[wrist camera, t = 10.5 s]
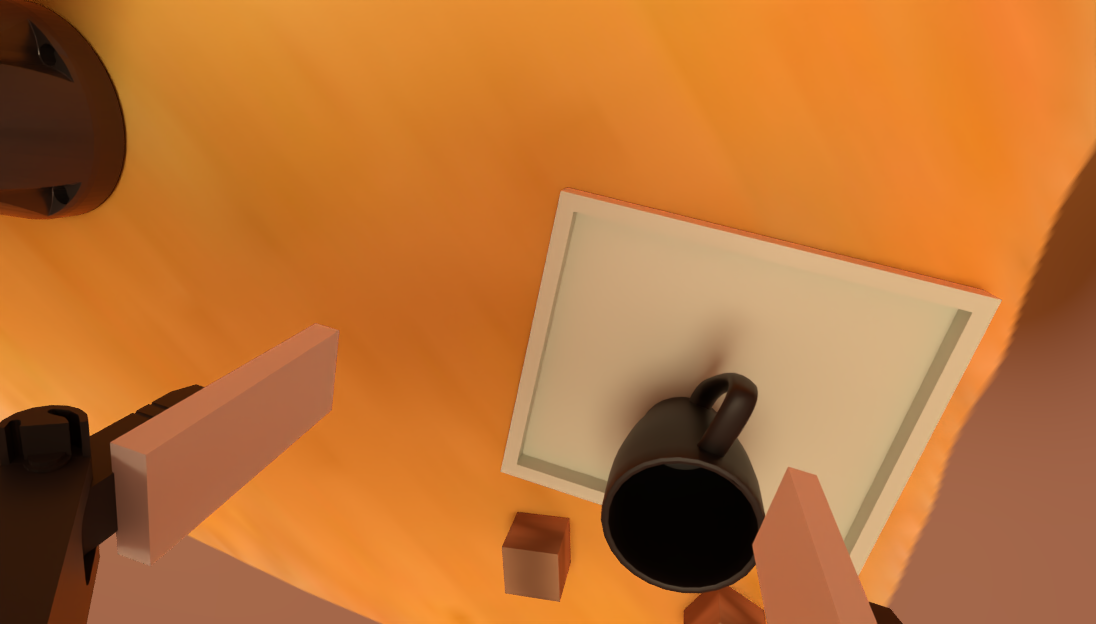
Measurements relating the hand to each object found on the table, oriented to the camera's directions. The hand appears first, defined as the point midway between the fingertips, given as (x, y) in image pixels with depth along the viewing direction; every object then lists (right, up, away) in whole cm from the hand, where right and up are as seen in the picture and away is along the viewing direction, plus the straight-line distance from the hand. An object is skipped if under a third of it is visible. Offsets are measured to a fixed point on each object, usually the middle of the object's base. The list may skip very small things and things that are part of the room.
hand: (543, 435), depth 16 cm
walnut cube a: (0, -14, +27) cm, 31 cm away
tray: (+11, -1, +21) cm, 23 cm away
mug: (+10, -3, +21) cm, 23 cm away
